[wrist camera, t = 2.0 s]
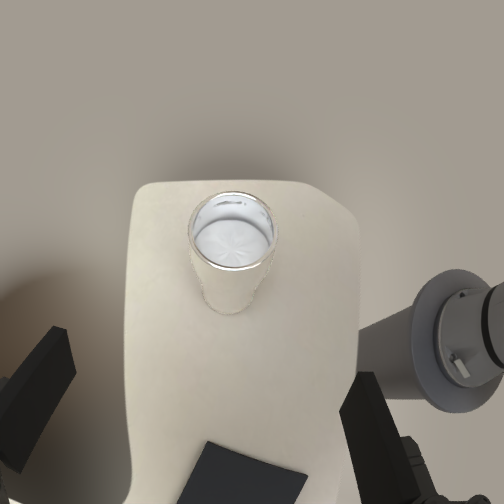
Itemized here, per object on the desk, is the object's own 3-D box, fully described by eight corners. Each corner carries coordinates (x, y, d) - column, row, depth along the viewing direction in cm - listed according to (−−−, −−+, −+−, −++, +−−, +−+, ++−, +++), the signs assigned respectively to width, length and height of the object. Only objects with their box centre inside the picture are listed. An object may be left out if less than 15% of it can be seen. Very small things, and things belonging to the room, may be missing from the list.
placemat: (307, 474, 28) (308, 476, 27) (264, 550, 23) (265, 552, 23) (207, 440, 29) (207, 441, 28) (168, 519, 24) (167, 521, 24)
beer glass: (252, 323, 35) (274, 282, 21) (192, 311, 35) (173, 262, 21) (262, 267, 38) (286, 198, 24) (205, 256, 38) (198, 181, 24)
